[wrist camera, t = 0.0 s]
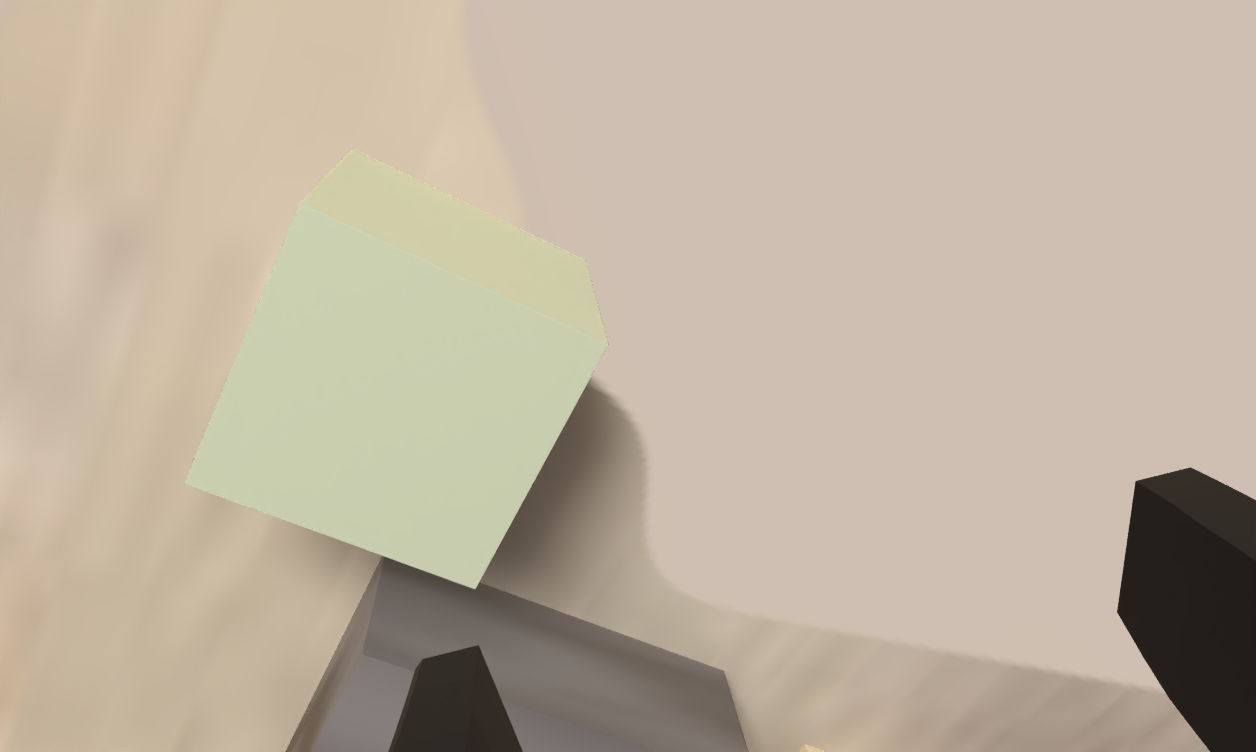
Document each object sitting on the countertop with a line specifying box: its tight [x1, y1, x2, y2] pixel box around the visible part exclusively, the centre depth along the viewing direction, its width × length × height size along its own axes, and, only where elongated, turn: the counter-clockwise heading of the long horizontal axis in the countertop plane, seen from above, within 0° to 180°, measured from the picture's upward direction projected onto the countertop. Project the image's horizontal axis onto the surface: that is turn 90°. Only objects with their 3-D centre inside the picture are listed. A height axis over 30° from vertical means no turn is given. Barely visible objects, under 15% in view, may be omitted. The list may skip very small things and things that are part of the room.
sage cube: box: [184, 148, 608, 589], centre depth 17 cm, size 5×5×5 cm
